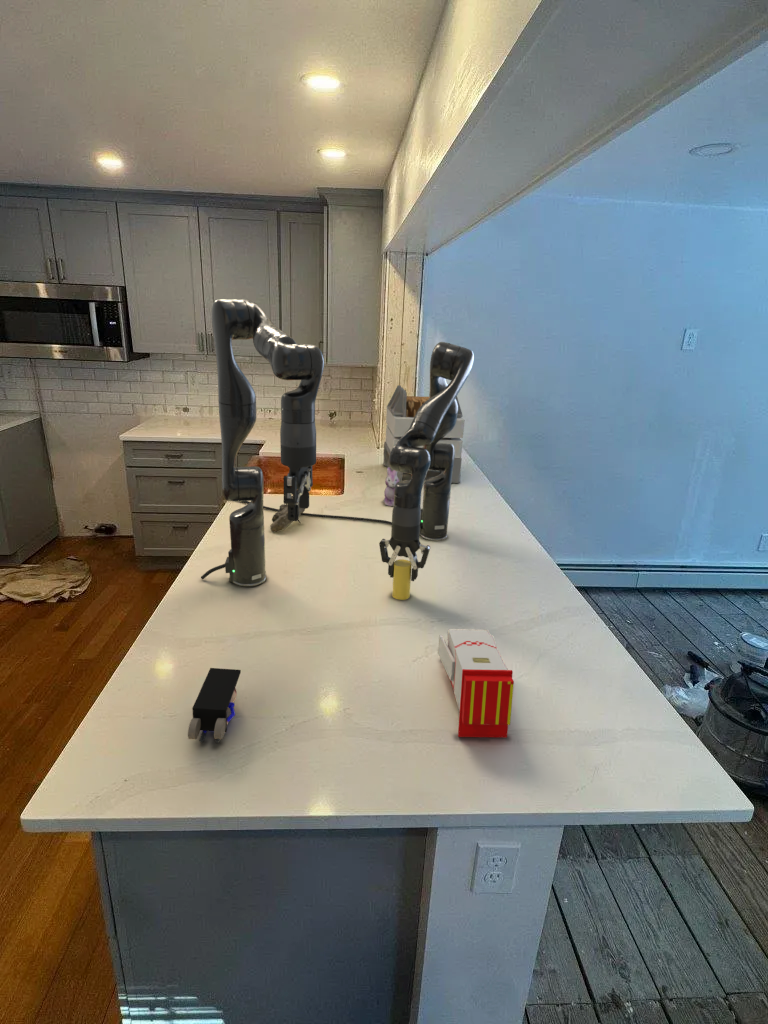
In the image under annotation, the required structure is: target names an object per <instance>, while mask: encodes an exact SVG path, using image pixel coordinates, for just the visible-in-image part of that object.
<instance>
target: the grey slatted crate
mask: <svg viewBox="0 0 768 1024" xmlns="http://www.w3.org/2000/svg"><path fill="white" fill-rule="evenodd" d="M407 394H408V393H407V390H406V389H404V388H403V387H402V385H399V384H398V385H397V386H396V388H395V390H394V392H393V394H392V395H391V398H390V400H389V402H388V404H387V405H386V413H385V414H386V415H385V423H386V428H385V438H384V442H383V466H384V467H387V468H388V467H390V464H389V455H390V452H391V450H392V448H393V447H394V445H395V444H396V443H397V442H398V441H399V439H400V438H401V437H402V436H403V435H404V434H405V432H406V431H407V430H408V429H409V428H410V425H411V423H412V421H413V419H414V417H415V415H416V412H417V411H418V409H419V408H420V406H421V405H422V404H423V403H424V402H426V401H427V400H428V399H429V396H415V395H414V396H413V395H412V396H411V395H407ZM455 399H456V401H457V404H458V414H457V420H456V424H455V426H454V428H453V429H452V430H451V431H450V432H449V433H448V434H447V435H446V436H445V437H443V438H442V439H441V440H439V441H438V442H437V443H447V444H452V445H453V446H454V449H455V457H454V464H453V471H452V480H451V484H455V483H456V484H459V483H461V472H462V461H463V460H462V453H463V442H464V441H463V440H462V439H463V438H464V431H465V430H464V429H465V419H464V418H463V411H462V408H461V405H460V402H459V398H458V395H457V396H456V398H455ZM418 447H419V448H423V446H418ZM390 469H391V471H393V469H392V468H391V467H390ZM442 472H443V471H439V473H440V474H441V473H442ZM403 475H404V473H402V472H397V477H398V479H399V481H403Z"/></svg>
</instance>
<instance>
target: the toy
mask: <svg viewBox="0 0 768 1024" xmlns="http://www.w3.org/2000/svg"><path fill="white" fill-rule="evenodd" d="M446 640H447V643H446V641H445V639H444V636H443V635H442V634H439V637H438V646H437V656H438V657H439V659H440V661H441V663H442V666H443V668H444V670H445V672H446V674H447V677H448V679H449V681H450V684H451V687H452V690H453V693H454V697H455V701H456V705H457V708H458V711H459V714H458V715H459V716H458V730H457V731H458V732H457V737H458V738H508V731H509V726H510V725H511V717H512V707H513V697H514V696H513V695H514V684H515V680H514V679H513V673H514V671H513V670H512V669H508V667H507V665H506V662H505V661H504V659H503V658H502V655H501V653H500V651H499V649H498V647H497V643H496V639H495V637H494V635H493V634H491V632H490V631H489V629H467V628H466V629H465V628H463V629H461V628H460V629H459V628H448V630H447V639H446Z"/></svg>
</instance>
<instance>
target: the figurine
mask: <svg viewBox="0 0 768 1024" xmlns="http://www.w3.org/2000/svg"><path fill="white" fill-rule="evenodd" d="M386 472H387V475H386V478H385V486H386V487H385V489H384V494H383V495H384V499H383V503H384V505H385V506H390V507H393V506H394V491H395V485H396V483H398V482H399V479H398V477H397V472H398V471H395V470H393V471H391V469H390V467H387V468H386Z"/></svg>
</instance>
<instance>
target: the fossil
mask: <svg viewBox="0 0 768 1024" xmlns="http://www.w3.org/2000/svg"><path fill="white" fill-rule="evenodd" d="M291 499H293V495H291ZM278 509H279V512H277V511H276V512H275V513H274V514H273V515H272V517H271V521H272V523H270V531H271V532H275V533H277V532H281V531H283V530H285V529H287V528H288V527H289V526H290V525H292V523H294V522H295V521H289V520H288V504H284V503H283V504H280V505H279V508H278ZM305 511H306V508H300V507H299V517H300V516H301V515H300V514H301V513H305ZM297 522H298V524H302V522H301V521H300V519H298V521H297Z"/></svg>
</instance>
